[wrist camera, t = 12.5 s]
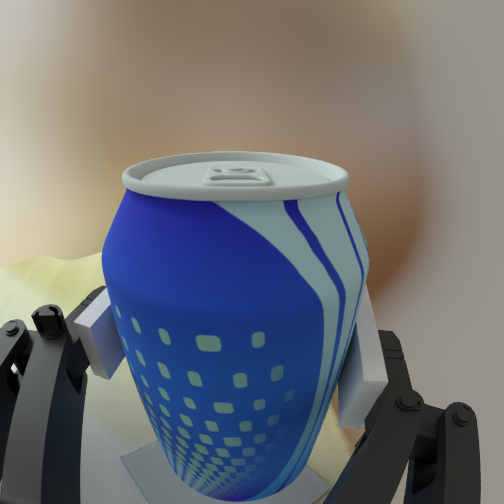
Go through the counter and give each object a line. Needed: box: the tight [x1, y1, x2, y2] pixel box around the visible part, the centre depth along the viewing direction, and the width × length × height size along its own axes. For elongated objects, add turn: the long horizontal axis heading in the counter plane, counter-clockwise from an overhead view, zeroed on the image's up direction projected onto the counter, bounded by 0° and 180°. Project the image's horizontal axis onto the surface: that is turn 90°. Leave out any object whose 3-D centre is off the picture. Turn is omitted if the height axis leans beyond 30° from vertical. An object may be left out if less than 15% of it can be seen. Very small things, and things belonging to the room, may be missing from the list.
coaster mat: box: [120, 440, 331, 504], centre depth 18 cm, size 12×12×1 cm
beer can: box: [102, 152, 369, 502], centre depth 12 cm, size 8×8×16 cm
